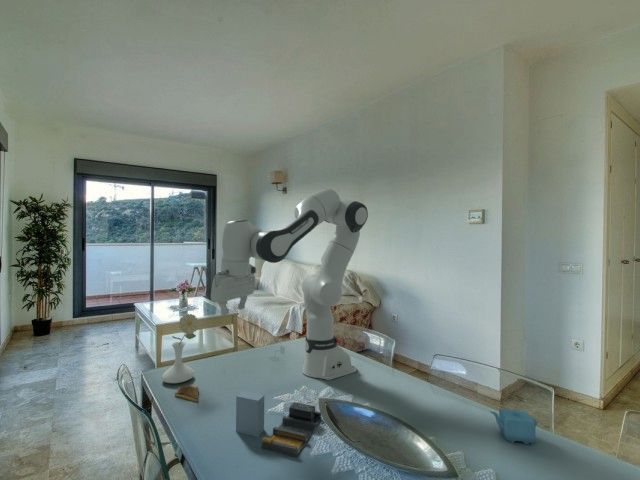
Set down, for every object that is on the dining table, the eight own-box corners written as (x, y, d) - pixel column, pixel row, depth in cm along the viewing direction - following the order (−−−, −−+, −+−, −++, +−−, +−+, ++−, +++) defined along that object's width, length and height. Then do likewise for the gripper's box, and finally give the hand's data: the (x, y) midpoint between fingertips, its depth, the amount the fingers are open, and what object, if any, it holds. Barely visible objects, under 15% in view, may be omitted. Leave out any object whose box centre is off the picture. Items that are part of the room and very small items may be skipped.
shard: (197, 403, 112) (197, 398, 112) (172, 406, 109) (172, 401, 109) (198, 389, 122) (198, 384, 122) (175, 392, 119) (175, 387, 119)
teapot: (492, 441, 93) (493, 414, 92) (486, 429, 98) (486, 403, 98) (541, 447, 90) (541, 419, 90) (531, 434, 96) (532, 408, 96)
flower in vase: (162, 388, 121) (163, 319, 120) (161, 376, 131) (161, 312, 130) (200, 382, 127) (201, 315, 126) (196, 371, 137) (197, 309, 136)
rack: (261, 448, 88) (261, 431, 88) (291, 412, 106) (291, 398, 106) (296, 457, 85) (296, 439, 84) (321, 418, 102) (321, 404, 102)
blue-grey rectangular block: (236, 431, 95) (236, 396, 95) (242, 424, 99) (243, 390, 99) (257, 436, 93) (258, 400, 93) (264, 429, 96) (264, 395, 96)
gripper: (224, 272, 99) (222, 319, 99) (259, 267, 118) (257, 307, 118) (206, 271, 101) (204, 317, 101) (243, 266, 120) (241, 305, 120)
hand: (233, 311), depth 110 cm, fingers open, 8 cm apart
